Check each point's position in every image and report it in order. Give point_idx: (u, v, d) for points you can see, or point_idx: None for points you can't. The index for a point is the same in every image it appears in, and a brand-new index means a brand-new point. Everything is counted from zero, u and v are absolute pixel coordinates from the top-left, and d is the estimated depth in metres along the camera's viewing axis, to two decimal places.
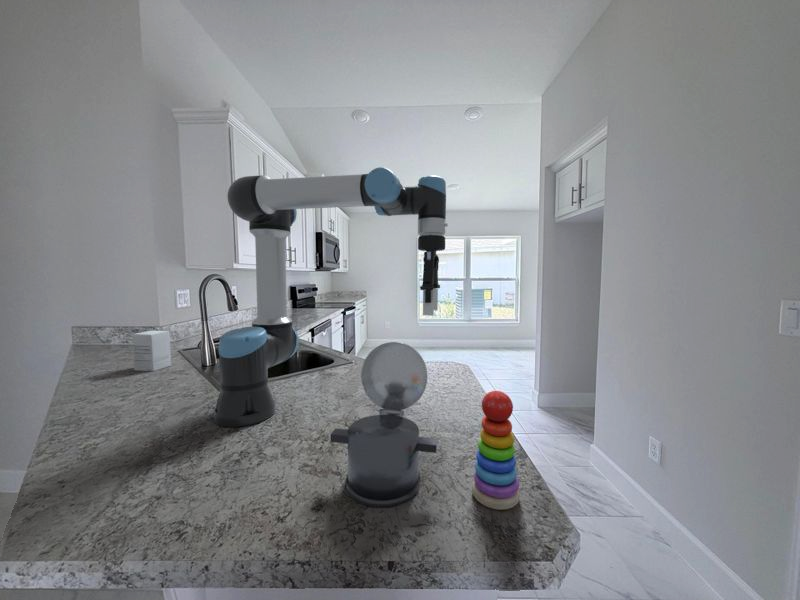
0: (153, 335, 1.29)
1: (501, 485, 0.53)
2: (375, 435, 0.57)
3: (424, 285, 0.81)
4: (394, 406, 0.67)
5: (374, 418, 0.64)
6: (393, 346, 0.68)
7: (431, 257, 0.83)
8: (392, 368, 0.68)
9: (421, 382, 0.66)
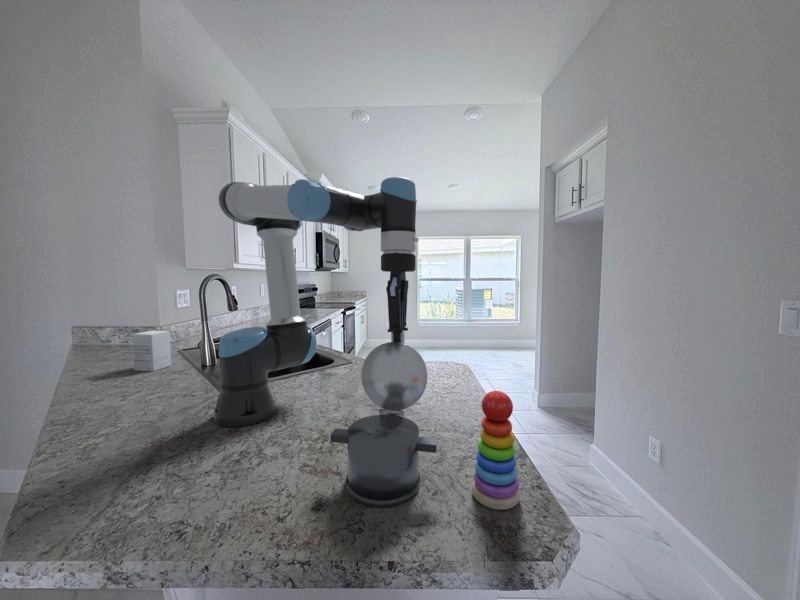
0: (153, 335, 1.29)
1: (501, 485, 0.53)
2: (375, 435, 0.57)
3: (391, 328, 0.68)
4: (394, 406, 0.67)
5: (374, 418, 0.64)
6: (393, 346, 0.68)
7: (396, 294, 0.65)
8: (392, 368, 0.68)
9: (421, 382, 0.66)
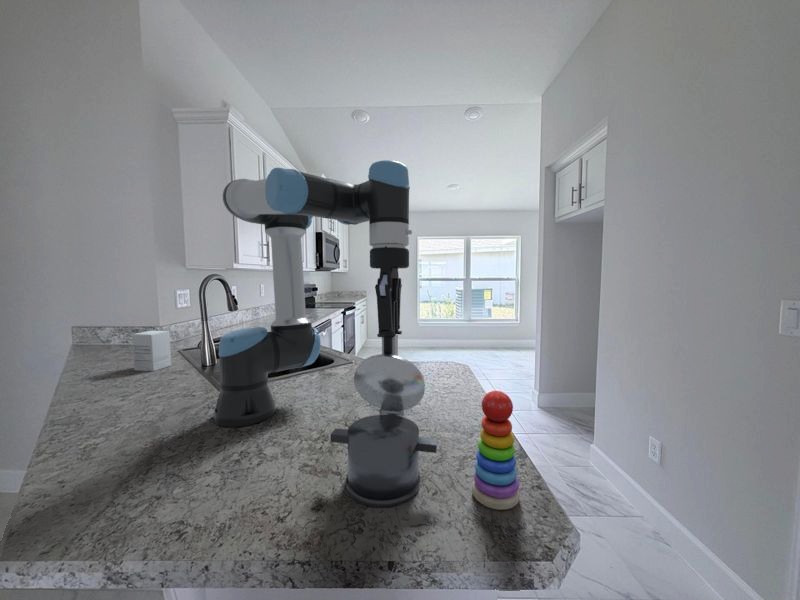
0: (153, 335, 1.29)
1: (501, 485, 0.53)
2: (375, 435, 0.57)
3: (381, 333, 0.59)
4: (393, 408, 0.66)
5: (374, 418, 0.64)
6: (384, 361, 0.60)
7: (386, 294, 0.57)
8: (386, 379, 0.63)
9: (418, 391, 0.63)
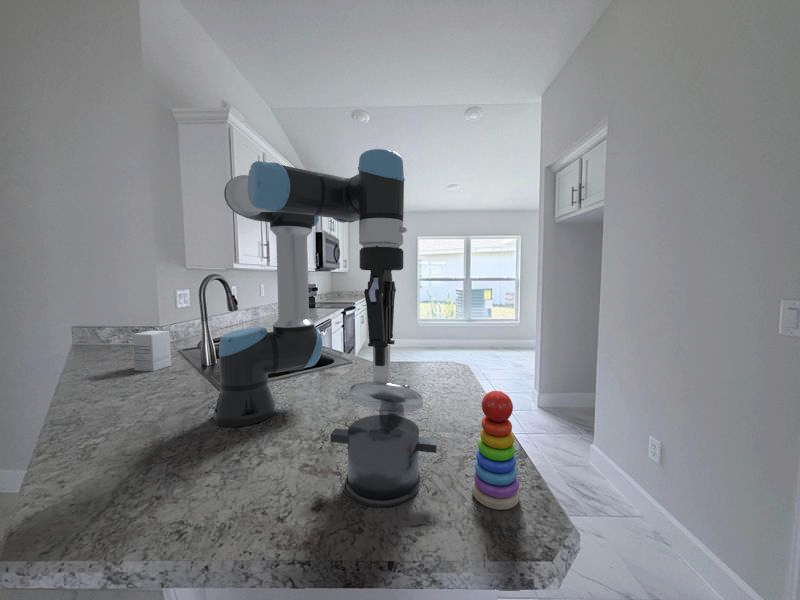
0: (153, 335, 1.29)
1: (501, 485, 0.53)
2: (375, 435, 0.57)
3: (372, 342, 0.53)
4: (393, 410, 0.66)
5: (374, 418, 0.64)
6: (377, 389, 0.56)
7: (377, 300, 0.51)
8: (382, 398, 0.60)
9: (417, 404, 0.61)
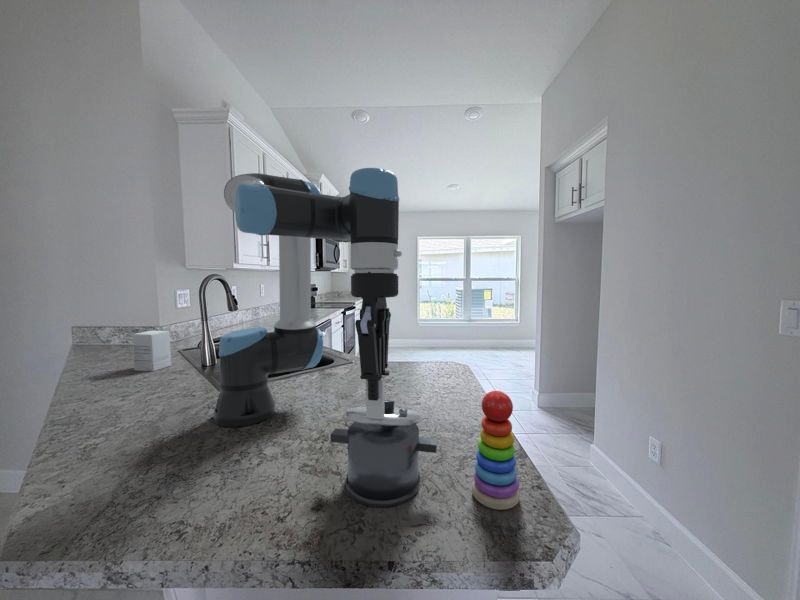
0: (153, 335, 1.29)
1: (501, 485, 0.53)
2: (375, 435, 0.57)
3: (364, 376, 0.49)
4: None
5: None
6: None
7: (369, 332, 0.47)
8: None
9: None
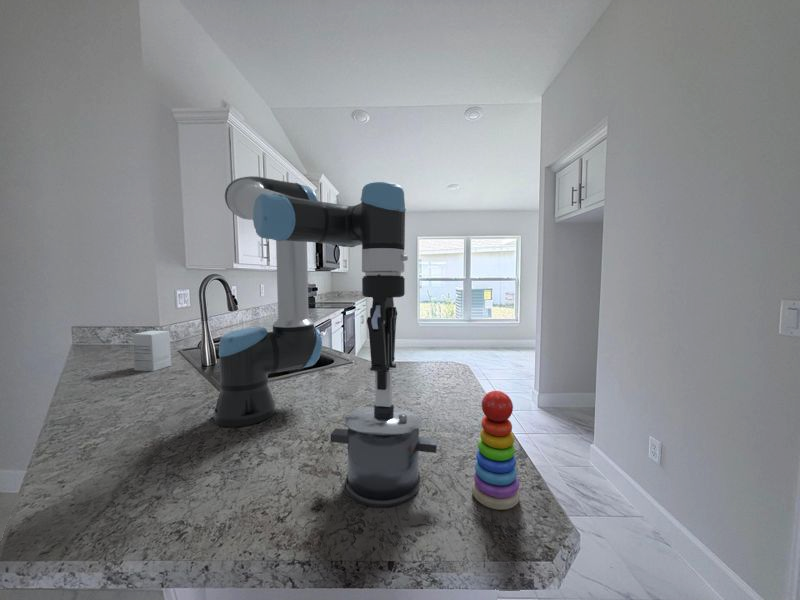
0: (153, 335, 1.29)
1: (501, 485, 0.53)
2: (375, 435, 0.57)
3: (374, 367, 0.55)
4: None
5: None
6: None
7: (379, 328, 0.52)
8: None
9: None
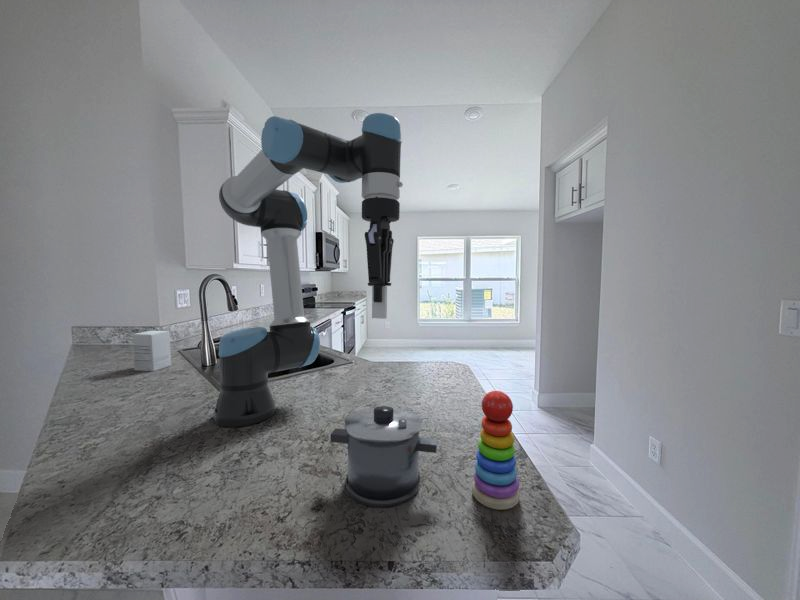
0: (153, 335, 1.29)
1: (501, 485, 0.53)
2: None
3: (371, 280, 0.62)
4: None
5: None
6: None
7: (375, 241, 0.60)
8: None
9: None
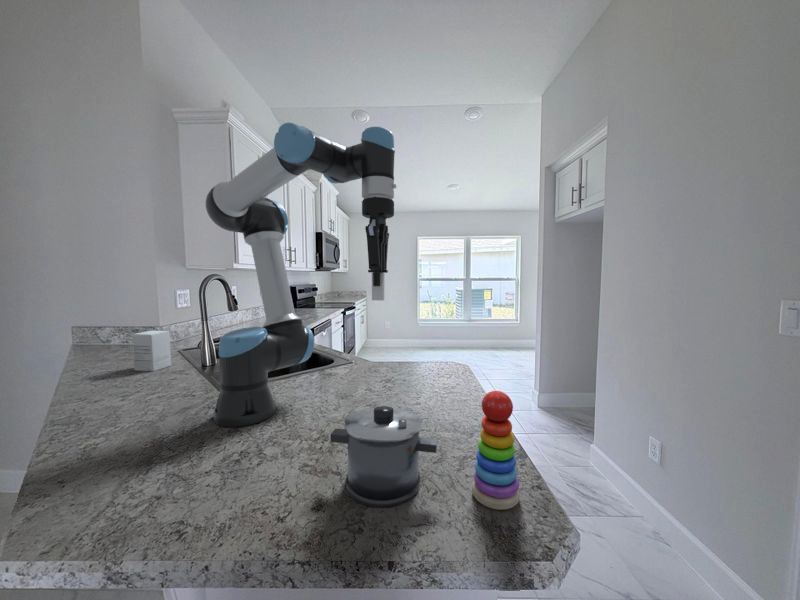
0: (153, 335, 1.29)
1: (501, 485, 0.53)
2: None
3: (371, 266, 0.74)
4: None
5: None
6: None
7: (374, 233, 0.71)
8: None
9: None
